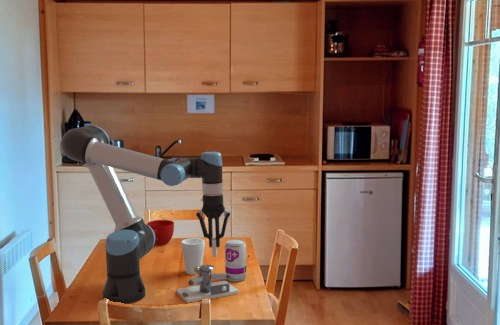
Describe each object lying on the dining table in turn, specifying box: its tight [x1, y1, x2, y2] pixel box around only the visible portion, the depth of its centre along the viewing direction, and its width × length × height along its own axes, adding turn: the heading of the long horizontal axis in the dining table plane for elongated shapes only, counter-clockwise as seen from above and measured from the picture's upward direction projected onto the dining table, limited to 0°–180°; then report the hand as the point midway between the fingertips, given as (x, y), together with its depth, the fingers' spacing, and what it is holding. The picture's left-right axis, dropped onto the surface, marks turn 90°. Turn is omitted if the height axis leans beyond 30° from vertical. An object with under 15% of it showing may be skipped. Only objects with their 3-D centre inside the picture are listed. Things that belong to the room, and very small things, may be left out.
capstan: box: [187, 264, 230, 293], centre depth 209 cm, size 16×14×9 cm
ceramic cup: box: [146, 219, 175, 246], centre depth 271 cm, size 13×17×10 cm
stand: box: [175, 279, 240, 304], centre depth 209 cm, size 20×13×4 cm, turn 117°
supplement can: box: [224, 238, 247, 282], centre depth 223 cm, size 8×8×15 cm
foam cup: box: [180, 237, 206, 276], centre depth 231 cm, size 10×9×13 cm
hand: (214, 255), depth 212 cm, fingers closed
